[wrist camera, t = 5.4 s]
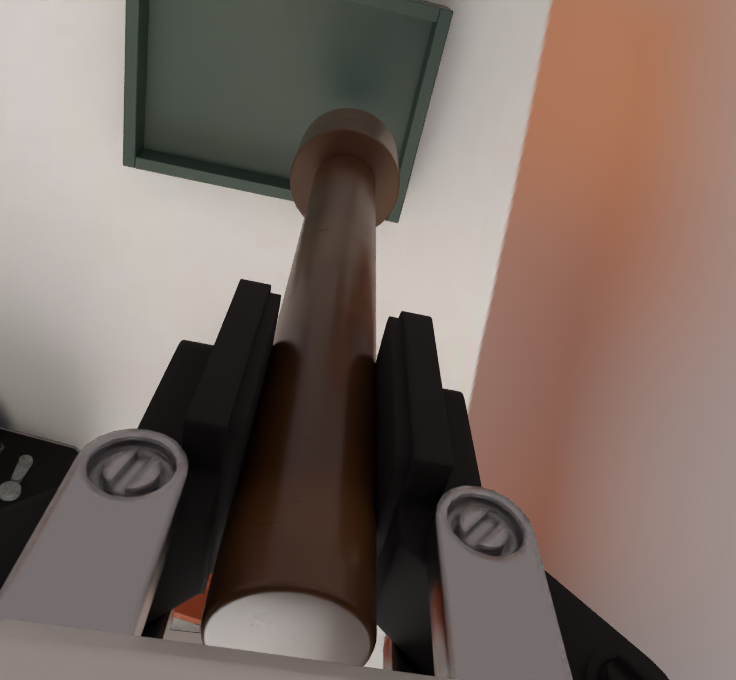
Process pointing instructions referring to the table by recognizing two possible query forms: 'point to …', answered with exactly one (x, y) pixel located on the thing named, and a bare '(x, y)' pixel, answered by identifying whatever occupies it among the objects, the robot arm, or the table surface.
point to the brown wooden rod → (315, 422)
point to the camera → (31, 465)
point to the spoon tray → (271, 82)
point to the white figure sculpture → (185, 637)
